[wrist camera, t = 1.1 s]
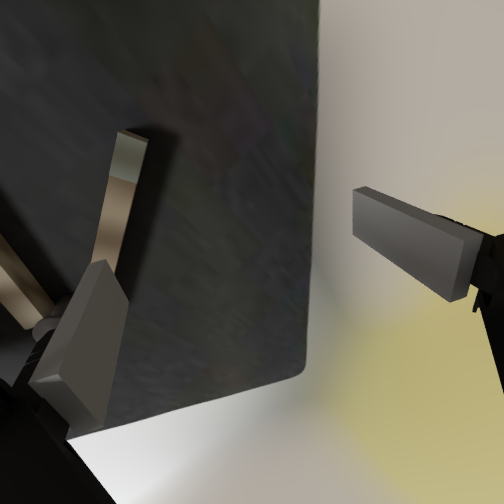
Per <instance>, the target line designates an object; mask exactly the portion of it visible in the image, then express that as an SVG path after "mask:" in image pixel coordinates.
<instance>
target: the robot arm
mask: <svg viewBox="0 0 504 504" xmlns="http://www.w3.org/2000/svg"><path fill="white" fill-rule="evenodd" d="M353 235H354V236H356V237H357V238H359V239H360V240H361V241H363V242H364V243H366V244H367V245H368V246H370V247H371V248H373V249H374V250H376V251H377V252H379V253H380V254H381V255H383V256H384V257H386V258H387V259H388V260H390V261H391V262H393V263H394V264H396V265H397V266H398V267H400V268H401V269H403V270H404V271H406V272H407V273H408V274H410V275H411V276H413V277H414V278H415V279H417V280H418V281H420V282H421V283H423V284H424V285H425V286H427V287H428V288H430V289H431V290H433V291H434V292H435V293H437V294H438V295H440V296H441V297H442V298H444V299H445V300H447V301H448V302H453V301H456V300H459V299H461V298H464V297H466V296H467V293H468V290H469V286H470V284H472V285H473V286H475V287H477V288H478V289H479V290H478V293H477V296H476V299H475V303H474V306H473V311H472V312H475V313H476V311H477V308H478V307H480V310H481V314H482V318H483V321H484V325H485V328H486V332H487V335H488V339H489V343H490V346H491V350H492V353H493V357H494V360H495V364H496V367H497V371H498V375H499V378H500V382H501V385H502V389H503V393H504V234H501V235H497V236H496V237H495V236H492V235H490V234H487V233H485V232H482V231H480V230H477V229H475V228H472V227H470V226H467V225H463V224H462V223H460V222H457V221H454V220H452V219H450V218H447V217H445V216H441V215H436V214H432V213H429V212H427V211H424V210H421V209H419V208H417V207H414V206H412V205H410V204H407V203H405V202H403V201H400V200H398V199H395V198H393V197H390V196H388V195H385V194H383V193H380V192H378V191H376V190H373V189H371V188H368V187H366V186H365V187H361V188H357V189H354V190H353ZM128 305H129V301H128V299H127V297H126V295H125V294H124V292H123V290H122V288H121V286H120V284H119V282H118V280H117V279H116V277H115V275H114V273H113V271H112V269H111V267H110V266H109V264H108V262H107V260H106V259H104V260H100V261H96V262H93V263H89V265H88V267H87V269H86V271H85V273H84V275H83V277H82V279H81V281H80V283H79V285H78V287H77V289H76V291H75V293H74V295H73V297H72V299H71V300H70V302H69V304H68V306H67V308H66V310H65V312H64V314H63V316H62V318H61V320H60V322H59V324H58V326H57V328H55V329H52V330H49V331H48V332H47V333H46V334H45V335H44V336H43V337H42V338H41V339H40V340H39V341H38V342H37V344H36V345H35V347H34V349H33V351H32V352H31V356H29V358H28V360H27V361H26V363H25V364H26V366H24V367H23V368H22V370H21V372H20V374H19V376H18V377H17V379H16V381H15V383H14V384H13V386H12V387H11V386H10V385H9V384H7V383H6V382H5V381H4V380H3V379H1V378H0V504H116V503H115V501H114V500H113V499H112V497H111V496H110V495H109V494H108V492H107V491H106V490H105V488H104V487H103V486H102V485H101V483H100V482H99V481H98V480H97V478H96V477H95V476H94V475H93V473H92V472H91V470H90V469H89V468H88V467H87V466H86V464H85V463H84V461H83V460H82V459H81V458H80V456H79V455H78V454H77V453H76V451H75V450H74V449H73V447H72V446H71V445H70V444H69V443H68V442H67V441H66V440H65V438H66V435H67V432H68V429H69V426H70V427H71V428H72V429H73V430H74V432H75V433H76V434H77V435H78V436H80V435H82V434H85V433H88V432H91V431H93V430H96V429H99V428H102V427H103V425H104V420H105V416H106V411H107V406H108V401H109V397H110V392H111V387H112V382H113V377H114V373H115V368H116V363H117V358H118V353H119V349H120V344H121V339H122V334H123V329H124V325H125V320H126V315H127V310H128Z"/></svg>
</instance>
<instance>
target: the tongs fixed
mask: <svg viewBox="0 0 504 504" xmlns="http://www.w3.org/2000/svg"><path fill="white" fill-rule="evenodd" d="M72 297H73V294H66V295H63V296H62V297H61V298H60V299H59V301H58V303H57V305H55V304H54V303H53V302H52V300H51V299H50V298H49V296H48V295H47V294H46V292H45V291H44V290H43V288H42V287H41V286H40V284H39V283H38V282H37V281H36V279H35V278H34V277H33V275H32V274H31V273H30V271H29V270H28V269H27V267H26V266H25V265H24V264H23V262H22V261H21V260H20V258H19V257H18V256H17V254H16V253H15V252H14V250H13V249H12V248H11V247H10V245H9V244H8V243H7V241H6V240H5V239H4V237H3V236H2V235H1V233H0V302H1V303H2V304H3V305H4V307H5V308H6V309H7V310H8V311H9V312H10V313H11V314H12V315H13V317H14V318H15V319H16V320H17V321H18V322H19V323H20V324H21V326H22V327H23V328H24V329H25V330H26V329H30V328H33V327H34V328H33V331H32V335H33V338H34V339H35V340H36V341H37V342H38V341H39V340H40V339H41V338H42V337H43V336H44V335H45V334H46V333H47V332H48V331H49V330H52V329H55V328H57V326H58V324H59V322H60V320H61V318H62V316H63V314H64V312H65V310H66V308H67V306H68V304H69V302H70V300H71V299H72Z"/></svg>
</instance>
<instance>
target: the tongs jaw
mask: <svg viewBox="0 0 504 504" xmlns="http://www.w3.org/2000/svg"><path fill="white" fill-rule="evenodd" d="M148 141H149V139H147V138H144V137H142V136H139V135H136V134H134V133H131V132H128V131H126V130H123V129H122V130H121V131H119V132H118V134H117V139H116V144H115V148H114V153H113V158H112V163H111V167H110V172H109V180H108V185H107V190H106V194H105V199H104V204H103V208H102V213H101V218H100V223H99V227H98V232H97V237H96V242H95V246H94V251H93V256H92V261H91V263H93V262H96V261H100V260H104V259H106V260H107V262H108V264H109V266H110V267H111V269H112V271H113V273H114V274H115V270H116V266H117V262H118V258H119V255H120V251H121V247H122V243H123V239H124V235H125V231H126V227H127V223H128V219H129V215H130V211H131V207H132V203H133V199H134V195H135V191H136V187H137V183H138V179H139V177H140V173H141V169H142V165H143V161H144V157H145V153H146V149H147V145H148Z"/></svg>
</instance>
